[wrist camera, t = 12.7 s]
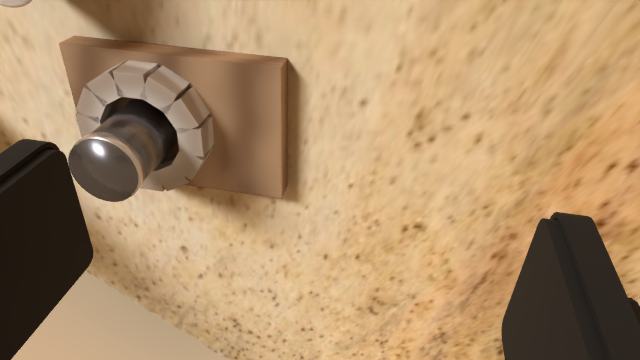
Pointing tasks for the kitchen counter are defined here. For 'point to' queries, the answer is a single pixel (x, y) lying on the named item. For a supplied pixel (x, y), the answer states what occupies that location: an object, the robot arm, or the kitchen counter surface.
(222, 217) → the kitchen counter surface
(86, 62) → the mount board
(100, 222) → the kitchen counter surface
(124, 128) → the lens
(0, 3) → the camera
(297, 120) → the kitchen counter surface
